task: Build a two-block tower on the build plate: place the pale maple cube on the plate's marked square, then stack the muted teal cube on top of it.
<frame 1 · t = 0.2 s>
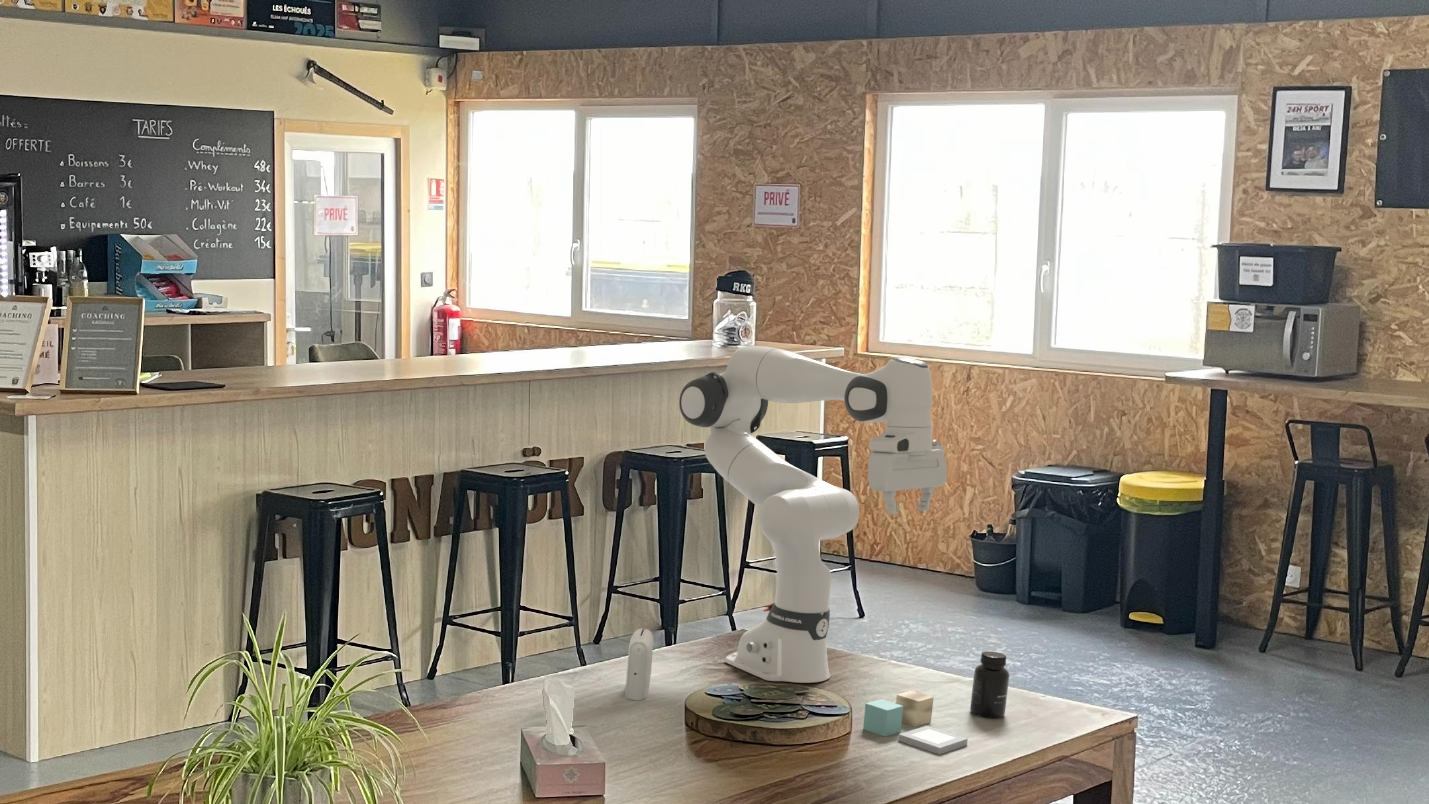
hand: (908, 512, 308), 38 cm above the table, tool pointing down, fingers open, 8 cm apart
supplement bottle: (987, 714, 311), on the table
maple cube: (912, 721, 302), on the table
build plate: (932, 742, 290), on the table
teal cube: (881, 730, 295), on the table
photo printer: (637, 694, 305), on the table
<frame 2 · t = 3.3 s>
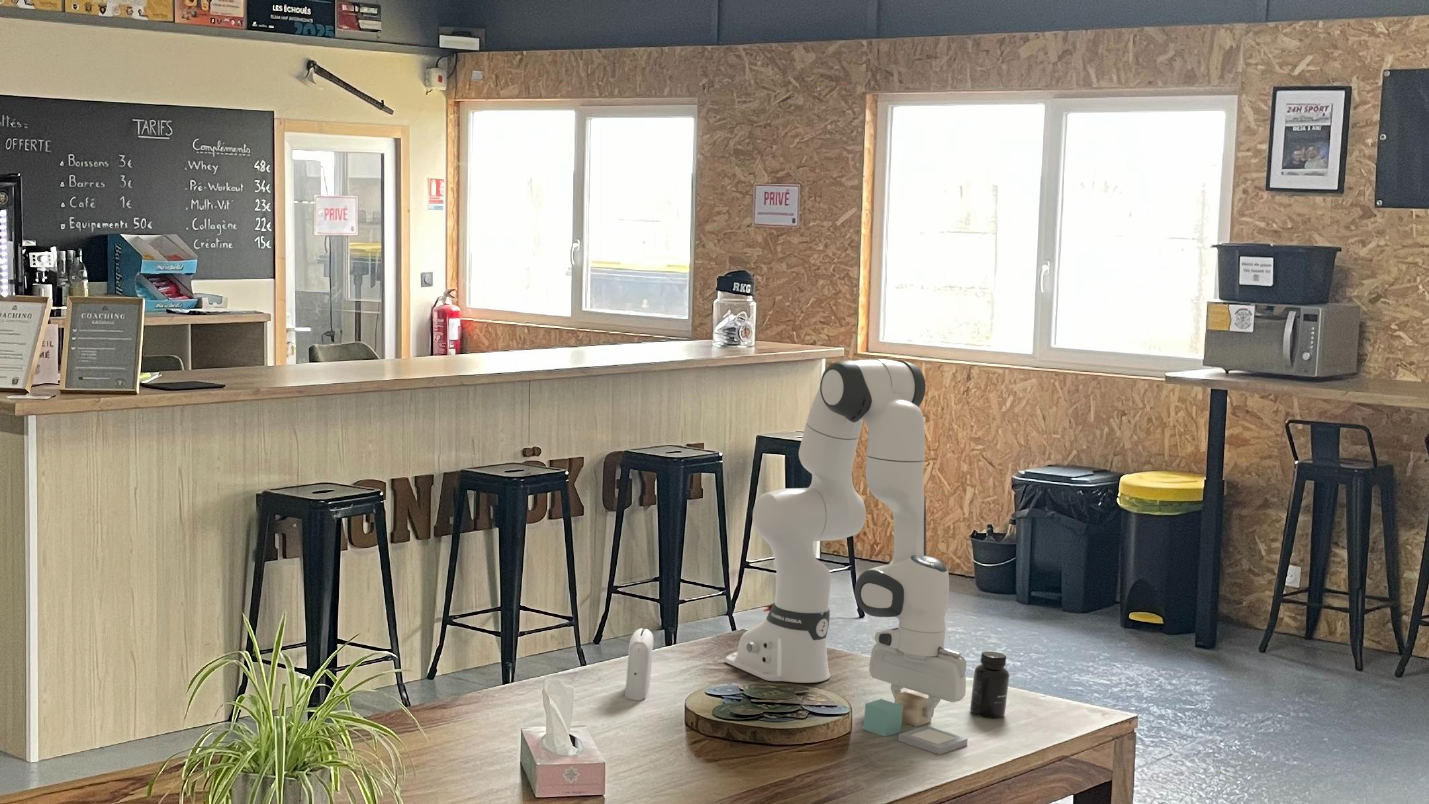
hand: (913, 712, 302), 2 cm above the table, tool pointing down, fingers closed on maple cube, 5 cm apart
maple cube: (912, 720, 302), on the table, touching gripper
everything else where it was.
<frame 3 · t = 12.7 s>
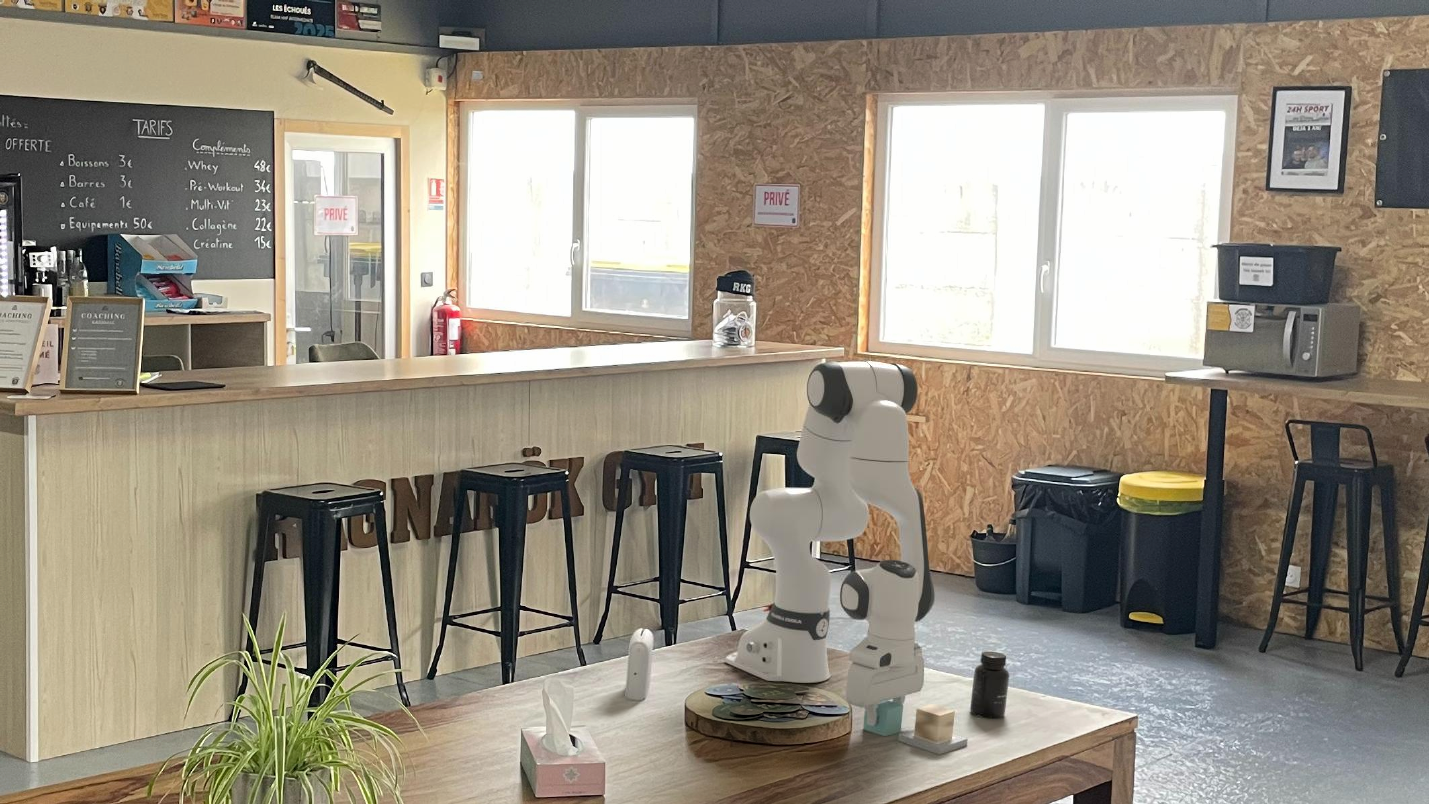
hand: (882, 721, 295), 2 cm above the table, tool pointing down, fingers closed on teal cube, 5 cm apart
maple cube: (933, 736, 290), point 1 cm above the table, touching build plate
teal cube: (881, 730, 295), on the table, touching gripper
everything else where it was.
when the fingers open (9 cm above the table, at t = 17.8 s): teal cube stays where it is, resting on maple cube.
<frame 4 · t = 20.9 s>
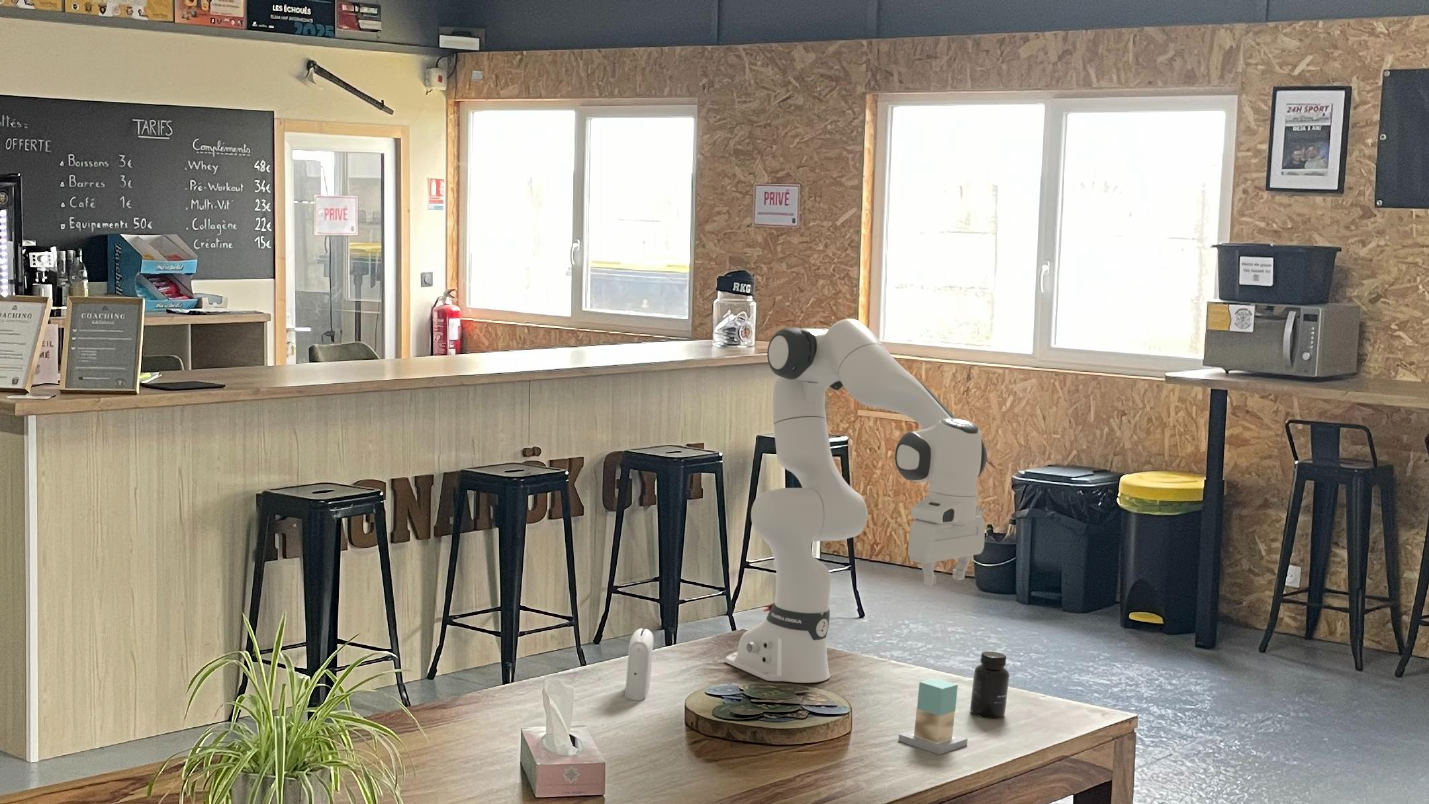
hand: (944, 582, 291), 29 cm above the table, tool pointing down, fingers open, 8 cm apart
maple cube: (933, 736, 290), point 1 cm above the table, touching build plate, teal cube
teal cube: (936, 709, 289), point 6 cm above the table, touching maple cube
everything else where it was.
at the end: maple cube 0.1 cm off-centre on the build plate, point 1.2 cm above the build plate's base; teal cube 0.0 cm off-centre on the build plate, point 6.2 cm above the build plate's base; teal cube tilted 0° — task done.
